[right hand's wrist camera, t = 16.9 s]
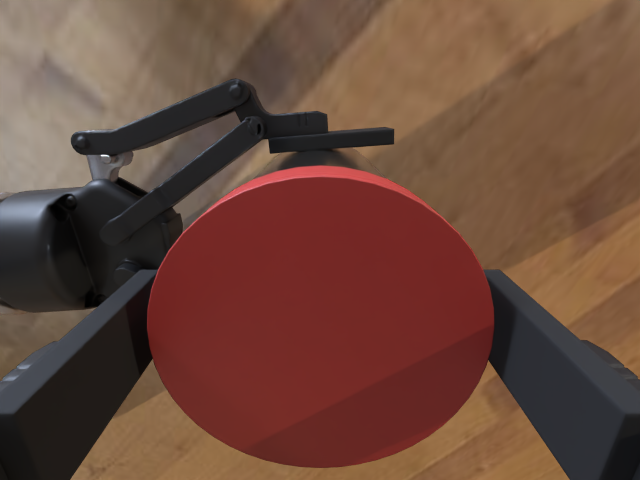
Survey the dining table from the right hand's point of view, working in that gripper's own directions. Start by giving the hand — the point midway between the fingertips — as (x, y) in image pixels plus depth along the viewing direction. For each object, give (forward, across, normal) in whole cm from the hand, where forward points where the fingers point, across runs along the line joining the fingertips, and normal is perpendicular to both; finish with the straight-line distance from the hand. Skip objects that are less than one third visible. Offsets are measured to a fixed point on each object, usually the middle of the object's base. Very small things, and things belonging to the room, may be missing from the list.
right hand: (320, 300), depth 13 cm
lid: (-2, 0, 0) cm, 2 cm away
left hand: (+8, -4, 0) cm, 9 cm away
